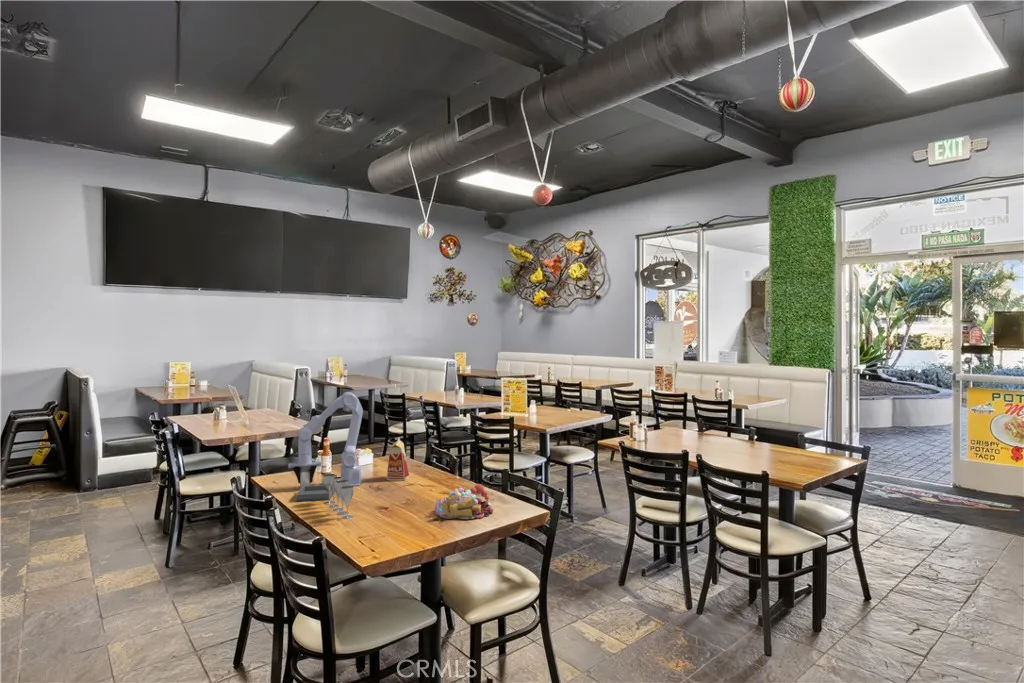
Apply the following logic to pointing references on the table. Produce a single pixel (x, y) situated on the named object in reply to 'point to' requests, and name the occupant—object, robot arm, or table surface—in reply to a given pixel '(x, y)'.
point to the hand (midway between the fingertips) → (305, 482)
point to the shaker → (305, 477)
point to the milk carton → (397, 463)
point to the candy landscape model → (464, 504)
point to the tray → (313, 493)
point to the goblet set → (338, 492)
